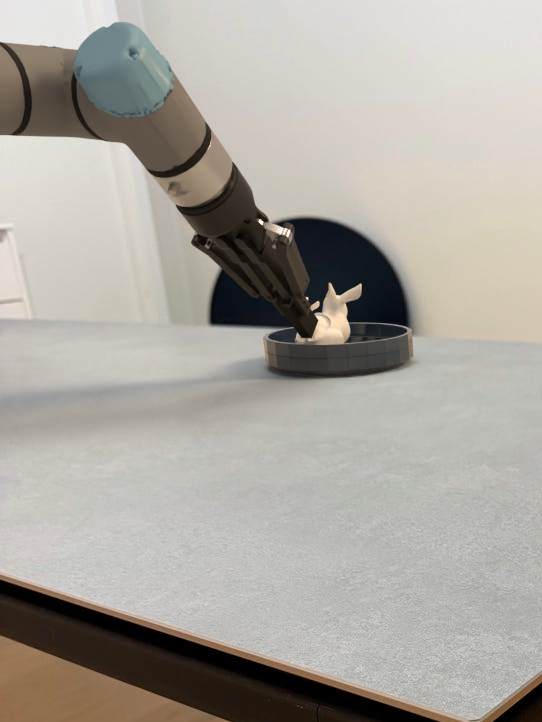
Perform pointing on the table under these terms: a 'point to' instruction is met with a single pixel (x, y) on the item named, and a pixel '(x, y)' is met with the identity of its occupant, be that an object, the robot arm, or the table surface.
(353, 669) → the table surface
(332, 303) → the rabbit figurine
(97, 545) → the table surface
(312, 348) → the bowl
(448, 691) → the table surface
